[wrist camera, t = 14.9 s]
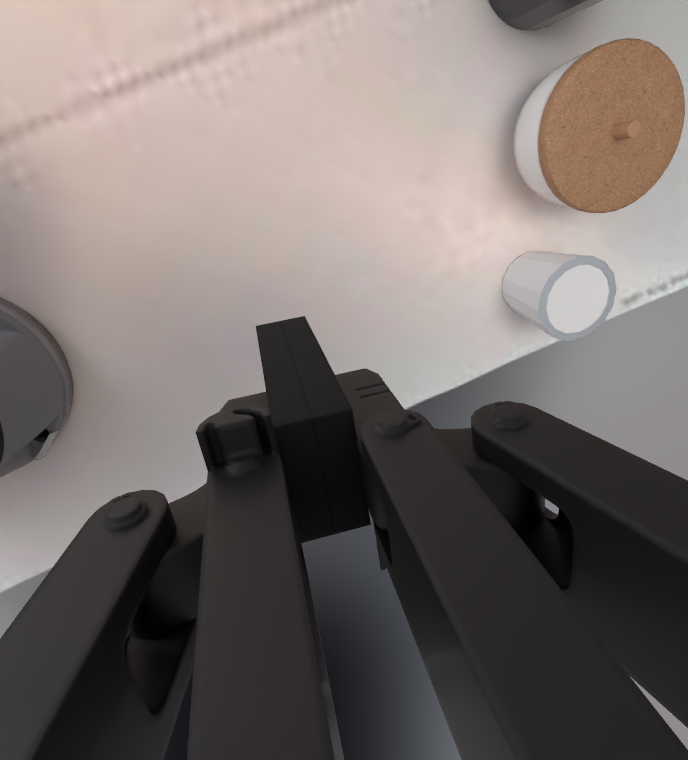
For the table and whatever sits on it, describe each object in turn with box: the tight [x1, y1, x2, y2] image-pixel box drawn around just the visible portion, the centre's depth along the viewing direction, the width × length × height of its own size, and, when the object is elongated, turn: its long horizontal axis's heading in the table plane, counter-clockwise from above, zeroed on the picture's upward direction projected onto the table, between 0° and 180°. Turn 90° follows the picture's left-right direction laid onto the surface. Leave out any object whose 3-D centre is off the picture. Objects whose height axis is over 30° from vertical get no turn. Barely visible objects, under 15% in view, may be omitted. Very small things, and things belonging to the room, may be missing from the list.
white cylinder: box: [502, 252, 616, 341], centre depth 42 cm, size 7×7×7 cm
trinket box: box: [514, 38, 685, 213], centre depth 36 cm, size 11×11×9 cm
